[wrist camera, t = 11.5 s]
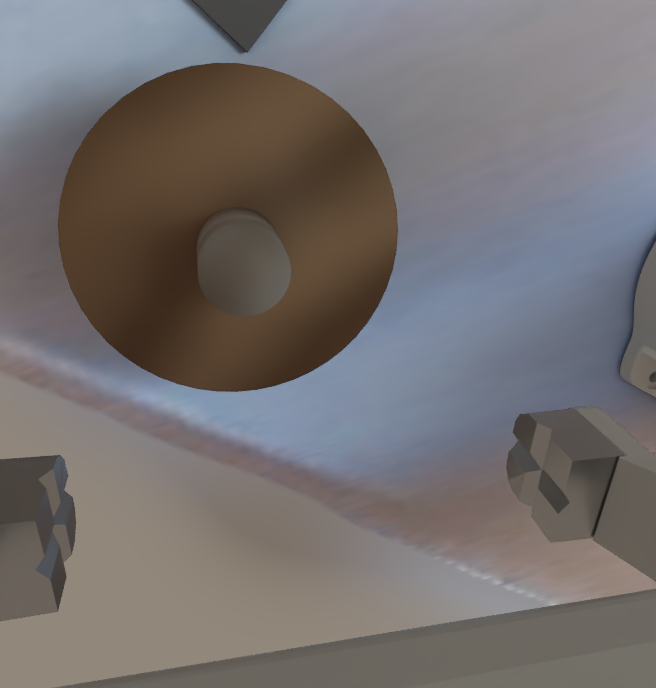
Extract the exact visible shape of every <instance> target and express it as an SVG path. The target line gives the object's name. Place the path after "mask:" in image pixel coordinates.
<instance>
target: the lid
mask: <svg viewBox="0 0 656 688" xmlns="http://www.w3.org/2000/svg"><path fill="white" fill-rule="evenodd" d="M58 229H59V246H60V251H61V256H62V261H63V267H64V270H65V273H66V276H67V279H68V281H69V284H70V287H71V290H72V292H73V294H74V296H75V298H76V299H77V301H78V303H79V305H80V307H81V309H82V311H83V312H84V313H85V315H86V316H87V318H88V319H89V321H90V322H91V324H92V325H93V326H94V328H95V329H96V330H97V331H98V332H99V333H100V334H101V335H102V336H103V338H104V339H105V340H106V341H107V342H108V343H109V344H110V345H111V346H113V347H114V348H115V349H116V350H117V351H118V352H120V353H121V354H122V355H123V356H124V357H126V358H127V359H129V360H130V361H132V362H133V363H135V364H136V365H138V366H139V367H141V368H143V369H145V370H147V371H148V372H150V373H152V374H154V375H156V376H158V377H161V378H163V379H166V380H169V381H171V382H174V383H177V384H180V385H184V386H188V387H192V388H196V389H203V390H211V391H231V392H238V391H248V390H257V389H262V388H267V387H272V386H276V385H279V384H282V383H285V382H288V381H291V380H294V379H296V378H298V377H300V376H303V375H305V374H307V373H309V372H311V371H313V370H314V369H316V368H318V367H319V366H321V365H323V364H324V363H326V362H328V361H329V360H330V359H331V358H333V357H334V356H335V355H337V354H338V353H339V352H340V351H342V350H343V349H344V348H345V347H346V346H347V345H348V344H349V343H350V342H351V341H352V340H353V339H354V338H355V337H356V336H357V335H358V334H359V332H360V331H361V330H362V329H363V327H364V326H365V325H366V324H367V322H368V321H369V319H370V318H371V316H372V315H373V313H374V311H375V310H376V308H377V307H378V305H379V303H380V301H381V299H382V296H383V294H384V292H385V290H386V288H387V285H388V282H389V279H390V276H391V273H392V270H393V265H394V260H395V255H396V248H397V234H398V226H397V209H396V204H395V199H394V194H393V189H392V186H391V183H390V180H389V177H388V174H387V171H386V168H385V166H384V164H383V162H382V160H381V158H380V156H379V154H378V152H377V150H376V148H375V146H374V145H373V143H372V142H371V140H370V139H369V137H368V136H367V134H366V133H365V131H364V130H363V129H362V128H361V127H360V126H359V124H358V123H357V122H356V121H355V120H354V119H353V118H352V117H351V115H350V114H349V113H348V112H347V111H345V110H344V109H343V108H342V107H341V106H340V105H338V104H337V103H336V102H335V101H334V100H333V99H331V98H330V97H328V96H327V95H325V94H324V93H322V92H321V91H319V90H318V89H316V88H315V87H313V86H311V85H309V84H307V83H305V82H303V81H301V80H299V79H297V78H294V77H292V76H290V75H287V74H284V73H281V72H277V71H274V70H271V69H268V68H264V67H258V66H252V65H245V64H239V63H212V64H205V65H197V66H190V67H187V68H183V69H180V70H176V71H173V72H169V73H166V74H164V75H162V76H160V77H157V78H155V79H153V80H151V81H148V82H146V83H144V84H143V85H141V86H140V87H138V88H137V89H135V90H134V91H132V92H130V93H129V94H127V95H126V96H124V97H123V98H122V99H121V100H119V101H118V102H117V103H116V104H115V105H114V106H113V107H112V108H110V109H109V110H108V111H107V112H106V113H105V114H104V115H103V116H102V117H101V118H100V119H99V121H98V122H97V123H96V124H95V125H94V127H93V128H92V129H91V130H90V131H89V133H88V134H87V136H86V137H85V139H84V141H83V142H82V144H81V146H80V147H79V149H78V151H77V152H76V154H75V156H74V158H73V161H72V163H71V166H70V168H69V170H68V173H67V175H66V179H65V183H64V187H63V191H62V195H61V199H60V208H59V219H58Z"/></svg>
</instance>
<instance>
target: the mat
mask: <svg viewBox="0 0 656 688" xmlns="http://www.w3.org/2000/svg"><path fill="white" fill-rule="evenodd" d="M193 1H194V2H195V3H196V4H197V5H198V6H199V7H200V8H201V9H202V10H203V11H204V12H205V13H206V14H207V15H208V16H210V17H211V18H212V19H213V20H214V21H215V22H216V23H217V24H218V25H219V26H220V27H221V28H222V29H223V30H224V31H225V32H226V33H227V34H228V35H229V36H230V37H232V38H233V39H234V40H235V41H236V42H237V43H238V44H239V45H240V46H241V47H242V48H243V49H244V50H245V51H246V52H248V51H249V50H250V48H251V47H252V46H253V44H254V43H255V42H256V41H257V39H258V38H259V37H260V35H261V34H262V33H263V31H264V30H265V29H266V27H267V26H268V25H269V23H270V22H271V21H272V19H273V18H274V17H275V15H276V14H277V13H278V11H279V10H280V9H281V8H282V6H283V5H284V4H285V2H286V1H287V0H193Z"/></svg>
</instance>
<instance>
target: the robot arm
mask: <svg viewBox="0 0 656 688" xmlns="http://www.w3.org/2000/svg"><path fill="white" fill-rule="evenodd" d="M620 375H621V377H622V378H623V379H624V380H625V381H627V382H629V383H630V384H632V385H634V386H636V387H638V388H639V389H641V390H643V391H645V392H647V393H648V394H650V395H652V396H654V397H655V398H656V242H655V244H654V245H653V247H652V249H651V251H650V253H649V255H648V257H647V259H646V261H645V264H644V266H643V269H642V271H641V274H640V277H639V281H638V285H637V289H636V294H635V302H634V326H633V334H632V337H631V340H630V342H629V344H628V347H627V349H626V351H625V354H624V357H623V359H622V363H621V367H620ZM513 433H514V435H515V436H516V438H517V440H518V442H517V443H516V444H515V445H514V446H513V448H512V449H511V450H510V451H509V454H508V460H507V473H508V480H509V483H510V485H511V488H512V490H513V492H514V493H515V495H516V496H517V497H518V499H519V500H520V501H522V502H524V503H526V504H528V505H530V506H531V507H533V509H532V516H531V517H532V518H533V519H534V521H535V522H536V523H537V525H538V526H539V528H540V529H541V530H542V532H543V533H544V534H545V536H546V537H547V538H548V540H549V541H550V542H560V541H569V540H578V539H587V538H593V540H594V541H595V542H597V543H598V544H600V545H601V546H603V547H604V548H606V549H607V550H609V551H610V552H612V553H613V554H615V555H616V556H618V557H620V558H621V559H623V560H624V561H626V562H627V563H629V564H630V565H632V566H633V567H635V568H636V569H638V570H639V571H641V572H642V573H644V574H645V575H647V576H648V577H650V578H651V579H653V580H654V581H656V453H651V452H650V451H649V450H648V449H646V448H645V447H644V446H643V445H642V444H641V443H640V442H638V441H637V440H636V439H635V438H634V437H633V436H631V435H630V434H629V433H628V432H627V431H626V430H625V429H623V428H622V427H621V426H620V425H619V424H618V423H616V422H615V421H614V420H613V419H612V418H611V417H610V416H608V415H607V414H606V413H605V412H604V411H603V410H601V409H600V408H598V407H595V406H592V405H591V406H583V407H575V408H568V409H564V410H554V411H544V412H534V413H525V414H520V415H519V417H518V418H517V420H516V421H515V426H514V430H513ZM67 478H68V473H67V468H66V465H65V460H64V459H63V457H62V456H61V455H54V456H40V457H26V458H12V459H0V621H5V620H10V619H17V618H22V617H28V616H34V615H40V614H46V613H52V612H58V609H59V604H60V601H61V597H62V593H63V589H64V584H65V581H66V572H65V568H64V563H63V562H64V561H66V560H67V559H68V558H69V557H70V556H71V555H72V551H73V547H74V542H75V530H76V518H75V507H74V502H73V497H72V496H70V495H69V494H68V493H67V492H65V491H64V489H65V485H66V482H67ZM55 688H656V589H652V590H646V591H640V592H634V593H628V594H622V595H616V596H610V597H604V598H598V599H591V600H585V601H579V602H573V603H567V604H561V605H554V606H548V607H542V608H536V609H530V610H523V611H517V612H511V613H505V614H499V615H492V616H486V617H480V618H474V619H468V620H462V621H456V622H450V623H444V624H437V625H432V626H425V627H420V628H413V629H407V630H401V631H396V632H389V633H383V634H377V635H371V636H365V637H359V638H353V639H347V640H341V641H335V642H329V643H322V644H316V645H310V646H305V647H298V648H292V649H286V650H281V651H274V652H268V653H262V654H256V655H250V656H244V657H238V658H232V659H225V660H219V661H213V662H207V663H201V664H196V665H190V666H184V667H177V668H171V669H165V670H158V671H153V672H146V673H140V674H135V675H128V676H122V677H116V678H110V679H104V680H98V681H92V682H85V683H79V684H73V685H67V686H62V687H55Z"/></svg>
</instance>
